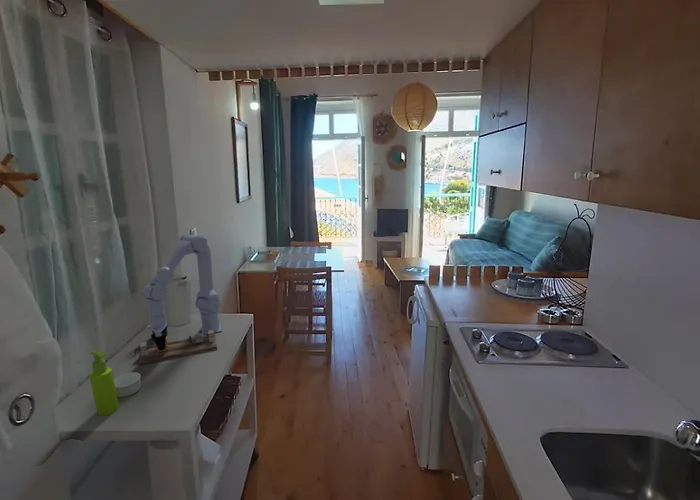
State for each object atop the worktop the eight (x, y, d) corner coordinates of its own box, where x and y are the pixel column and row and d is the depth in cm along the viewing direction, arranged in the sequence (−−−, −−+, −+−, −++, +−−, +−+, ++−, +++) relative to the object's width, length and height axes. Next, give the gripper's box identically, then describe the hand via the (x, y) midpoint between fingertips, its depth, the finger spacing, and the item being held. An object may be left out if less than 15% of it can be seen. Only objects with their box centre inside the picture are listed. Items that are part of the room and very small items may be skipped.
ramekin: (126, 400, 131) (124, 388, 130) (106, 396, 134) (104, 384, 133) (148, 385, 139) (146, 374, 138) (129, 381, 142) (126, 370, 141)
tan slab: (142, 350, 165) (140, 338, 164) (215, 336, 175) (213, 325, 173) (139, 364, 153) (137, 352, 152) (217, 349, 163) (215, 337, 162)
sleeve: (157, 348, 162) (155, 337, 161) (168, 346, 164) (166, 335, 163) (157, 352, 159) (155, 341, 158) (168, 350, 160) (166, 339, 159)
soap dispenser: (105, 419, 122) (92, 358, 117) (93, 412, 125) (80, 353, 121) (124, 408, 127) (113, 349, 122) (112, 402, 130) (101, 345, 125)
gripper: (147, 309, 163) (152, 340, 166) (144, 322, 150) (149, 356, 153) (166, 306, 165) (171, 337, 169) (164, 319, 152) (170, 352, 156)
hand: (162, 346), depth 161 cm, fingers open, 6 cm apart
